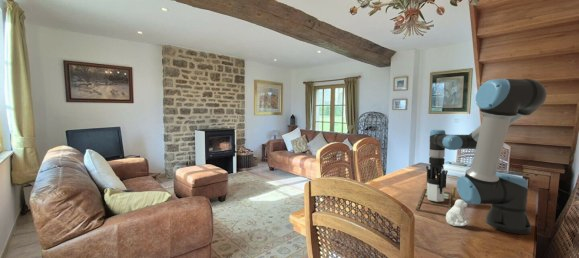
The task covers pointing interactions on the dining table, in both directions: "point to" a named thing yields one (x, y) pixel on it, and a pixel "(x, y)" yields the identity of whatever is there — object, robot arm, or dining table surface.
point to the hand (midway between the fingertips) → (435, 197)
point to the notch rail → (437, 204)
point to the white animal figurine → (457, 214)
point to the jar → (434, 190)
